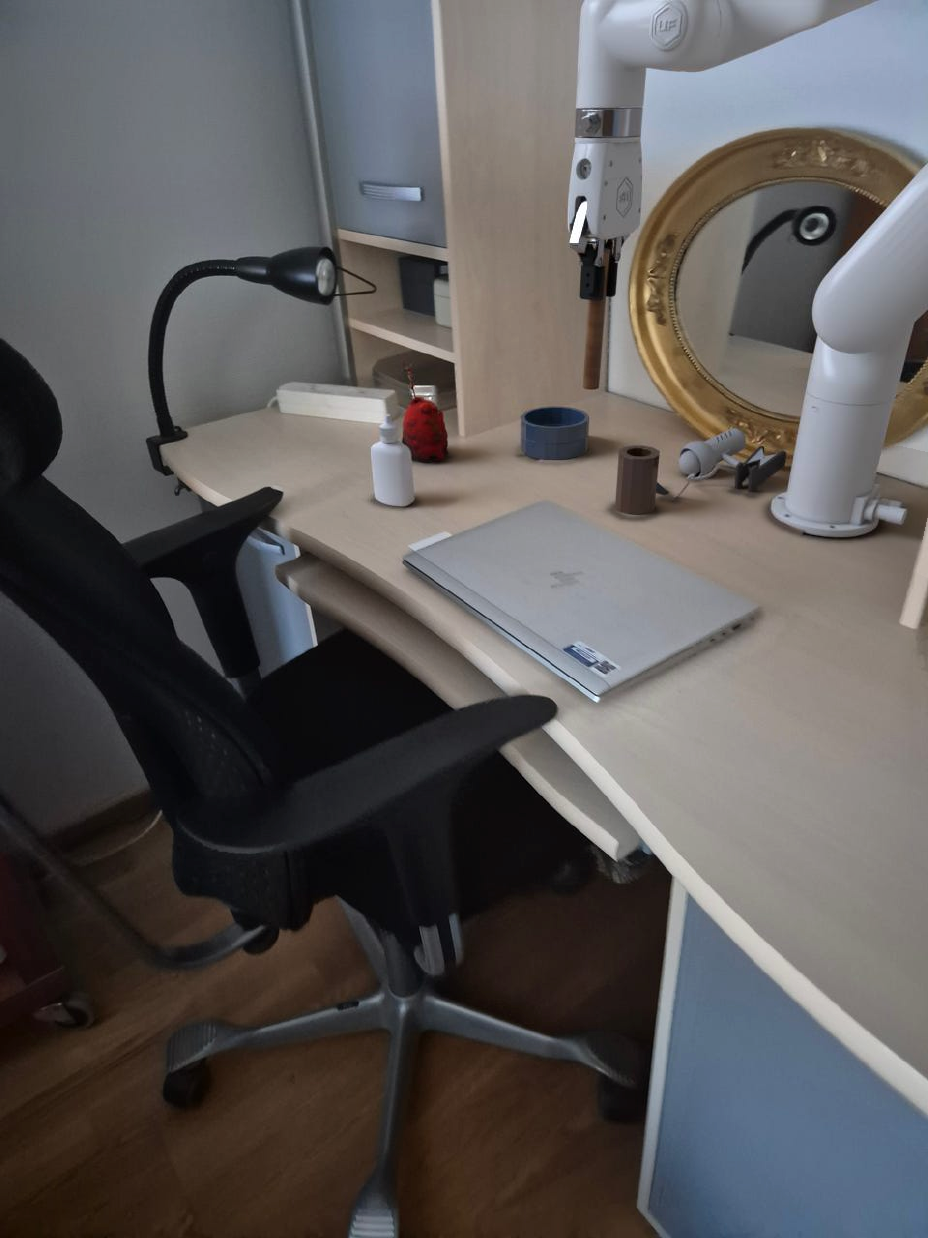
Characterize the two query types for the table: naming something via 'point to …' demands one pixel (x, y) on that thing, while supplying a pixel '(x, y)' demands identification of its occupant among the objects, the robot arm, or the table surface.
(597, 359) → the stick
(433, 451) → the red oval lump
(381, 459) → the eye dropper bottle
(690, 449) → the clip-on lamp
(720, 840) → the table surface
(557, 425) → the bowl
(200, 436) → the table surface
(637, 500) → the holder
